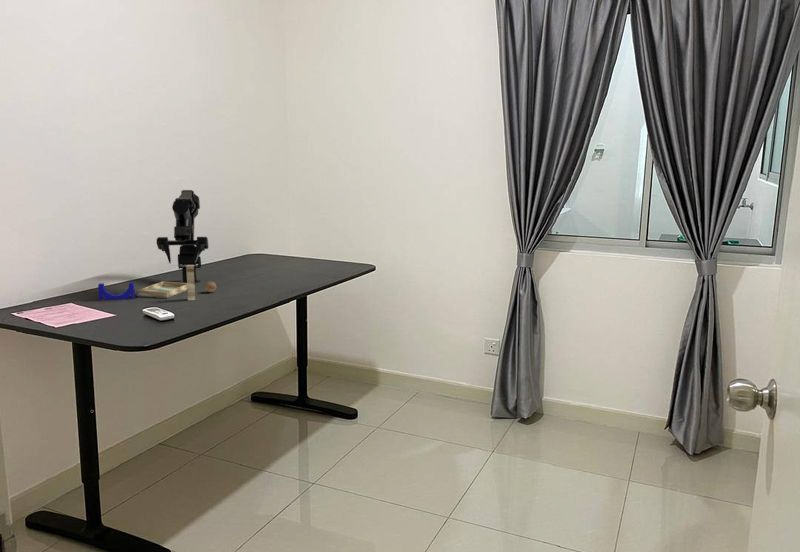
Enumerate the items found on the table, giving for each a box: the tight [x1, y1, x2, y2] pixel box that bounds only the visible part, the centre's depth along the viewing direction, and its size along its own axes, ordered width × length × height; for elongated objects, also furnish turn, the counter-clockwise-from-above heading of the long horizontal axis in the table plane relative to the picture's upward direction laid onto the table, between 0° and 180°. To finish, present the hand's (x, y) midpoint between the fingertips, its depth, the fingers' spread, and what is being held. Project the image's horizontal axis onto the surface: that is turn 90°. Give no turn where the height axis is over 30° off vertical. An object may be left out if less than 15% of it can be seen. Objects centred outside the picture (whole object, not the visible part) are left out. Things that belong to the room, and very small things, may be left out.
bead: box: [204, 281, 217, 294], centre depth 254 cm, size 4×4×4 cm
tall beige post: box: [186, 265, 196, 301], centre depth 240 cm, size 3×3×13 cm
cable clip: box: [97, 281, 136, 301], centre depth 241 cm, size 12×4×6 cm, turn 107°
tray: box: [135, 281, 188, 299], centre depth 252 cm, size 18×13×2 cm
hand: (182, 262), depth 246 cm, fingers open, 9 cm apart
